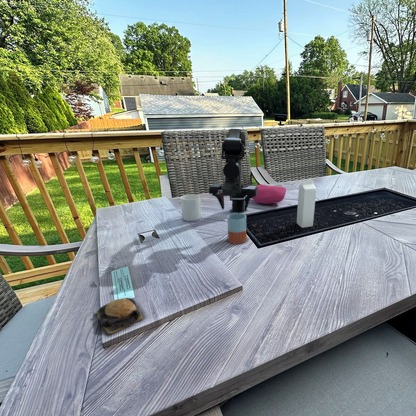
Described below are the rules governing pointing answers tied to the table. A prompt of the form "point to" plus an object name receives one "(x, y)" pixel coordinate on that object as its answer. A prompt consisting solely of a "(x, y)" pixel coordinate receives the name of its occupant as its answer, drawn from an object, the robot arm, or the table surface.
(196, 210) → the mug
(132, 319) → the brown and black burger
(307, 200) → the milk
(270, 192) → the pink bowl shaped lump
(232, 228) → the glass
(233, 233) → the cup
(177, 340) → the table surface
